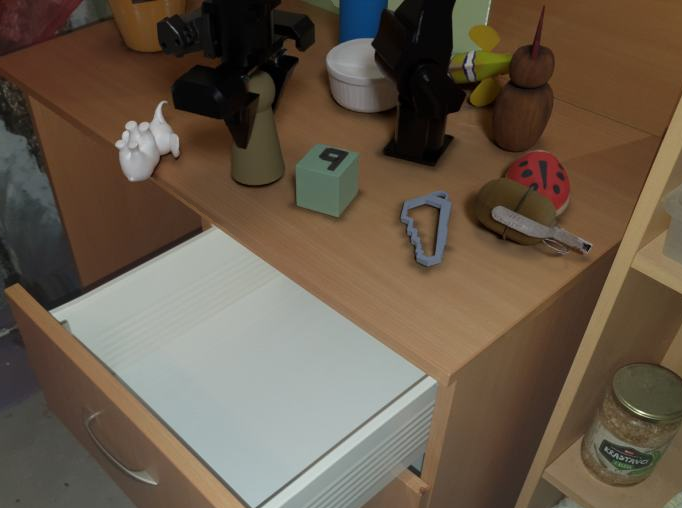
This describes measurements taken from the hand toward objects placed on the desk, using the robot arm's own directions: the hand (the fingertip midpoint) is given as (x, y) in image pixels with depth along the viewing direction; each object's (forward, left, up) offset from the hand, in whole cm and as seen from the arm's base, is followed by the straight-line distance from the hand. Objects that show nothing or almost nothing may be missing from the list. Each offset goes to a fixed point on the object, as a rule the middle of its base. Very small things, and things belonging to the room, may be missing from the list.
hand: (253, 137), depth 78 cm
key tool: (-2, -18, -5) cm, 19 cm away
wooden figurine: (+19, -24, -5) cm, 31 cm away
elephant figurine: (-3, +13, +1) cm, 13 cm away
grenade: (+3, -24, -2) cm, 24 cm away
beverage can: (+33, +2, -5) cm, 33 cm away
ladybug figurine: (+10, -29, -5) cm, 31 cm away
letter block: (0, -9, -5) cm, 10 cm away
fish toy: (+24, -14, 0) cm, 27 cm away
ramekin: (+23, -4, -5) cm, 23 cm away
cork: (0, 0, -4) cm, 4 cm away
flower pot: (+26, +33, -5) cm, 42 cm away
